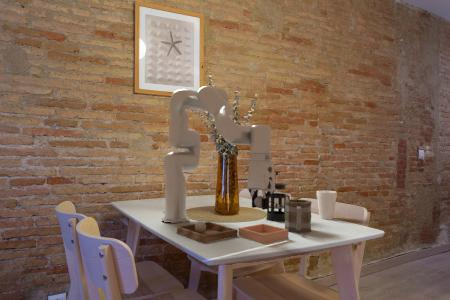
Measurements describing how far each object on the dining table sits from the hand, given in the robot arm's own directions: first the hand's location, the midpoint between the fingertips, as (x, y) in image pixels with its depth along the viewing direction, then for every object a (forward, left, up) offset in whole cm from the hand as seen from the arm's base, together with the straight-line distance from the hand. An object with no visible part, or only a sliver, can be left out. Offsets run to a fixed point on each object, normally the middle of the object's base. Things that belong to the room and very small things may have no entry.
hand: (260, 207), depth 125 cm
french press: (-20, +32, -12) cm, 40 cm away
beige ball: (-19, -14, -11) cm, 26 cm away
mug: (+1, +21, -12) cm, 24 cm away
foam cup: (-8, +54, -12) cm, 56 cm away
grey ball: (0, 0, 0) cm, 0 cm away
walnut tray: (-15, -13, -12) cm, 23 cm away
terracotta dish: (0, +2, -12) cm, 12 cm away
